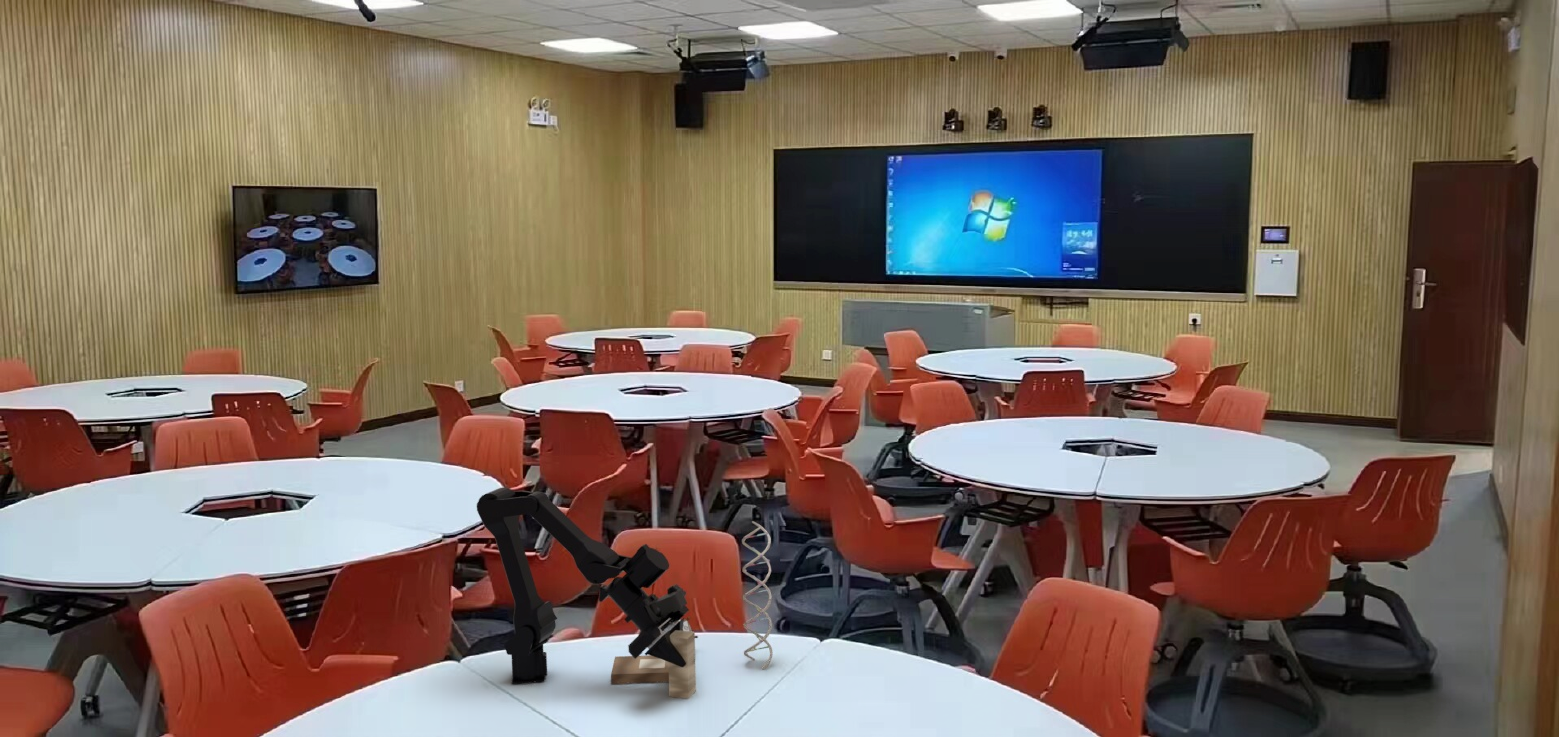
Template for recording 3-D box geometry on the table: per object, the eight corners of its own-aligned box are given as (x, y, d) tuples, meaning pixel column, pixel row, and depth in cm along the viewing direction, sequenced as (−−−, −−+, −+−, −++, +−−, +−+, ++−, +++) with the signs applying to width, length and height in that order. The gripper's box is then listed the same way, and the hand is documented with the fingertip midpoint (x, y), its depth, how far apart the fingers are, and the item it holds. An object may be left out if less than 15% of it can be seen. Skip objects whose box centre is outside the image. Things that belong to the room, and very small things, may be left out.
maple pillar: (669, 696, 227) (667, 636, 226) (677, 688, 231) (675, 630, 229) (688, 698, 226) (687, 638, 225) (695, 690, 230) (694, 631, 228)
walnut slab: (611, 683, 234) (611, 673, 234) (615, 665, 244) (615, 656, 243) (691, 680, 235) (691, 670, 234) (692, 663, 245) (691, 653, 244)
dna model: (739, 661, 245) (736, 521, 242) (768, 657, 247) (766, 519, 244) (747, 672, 239) (745, 529, 236) (777, 668, 241) (775, 526, 237)
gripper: (641, 590, 218) (698, 652, 216) (678, 563, 236) (731, 620, 234) (604, 627, 221) (660, 689, 219) (643, 598, 239) (695, 654, 237)
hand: (688, 661), depth 227 cm, fingers closed on maple pillar, 4 cm apart
